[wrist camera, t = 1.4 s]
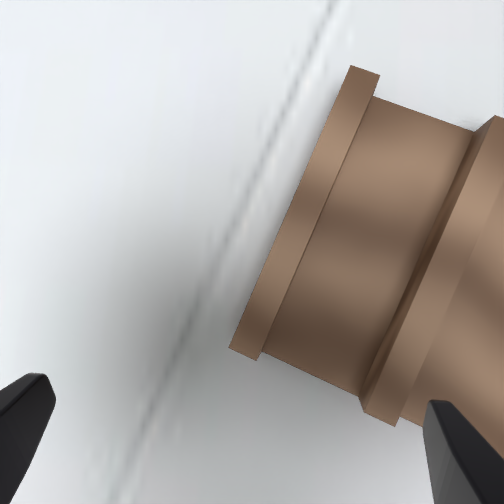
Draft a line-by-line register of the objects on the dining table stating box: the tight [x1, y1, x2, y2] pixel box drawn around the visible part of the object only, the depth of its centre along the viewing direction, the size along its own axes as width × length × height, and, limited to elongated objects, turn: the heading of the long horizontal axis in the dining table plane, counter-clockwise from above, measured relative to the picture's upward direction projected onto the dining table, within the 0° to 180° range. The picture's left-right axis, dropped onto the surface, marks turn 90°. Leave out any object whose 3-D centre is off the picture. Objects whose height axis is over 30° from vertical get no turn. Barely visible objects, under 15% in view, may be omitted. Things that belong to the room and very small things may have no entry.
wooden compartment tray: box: [229, 65, 504, 459], centre depth 22 cm, size 16×18×4 cm
